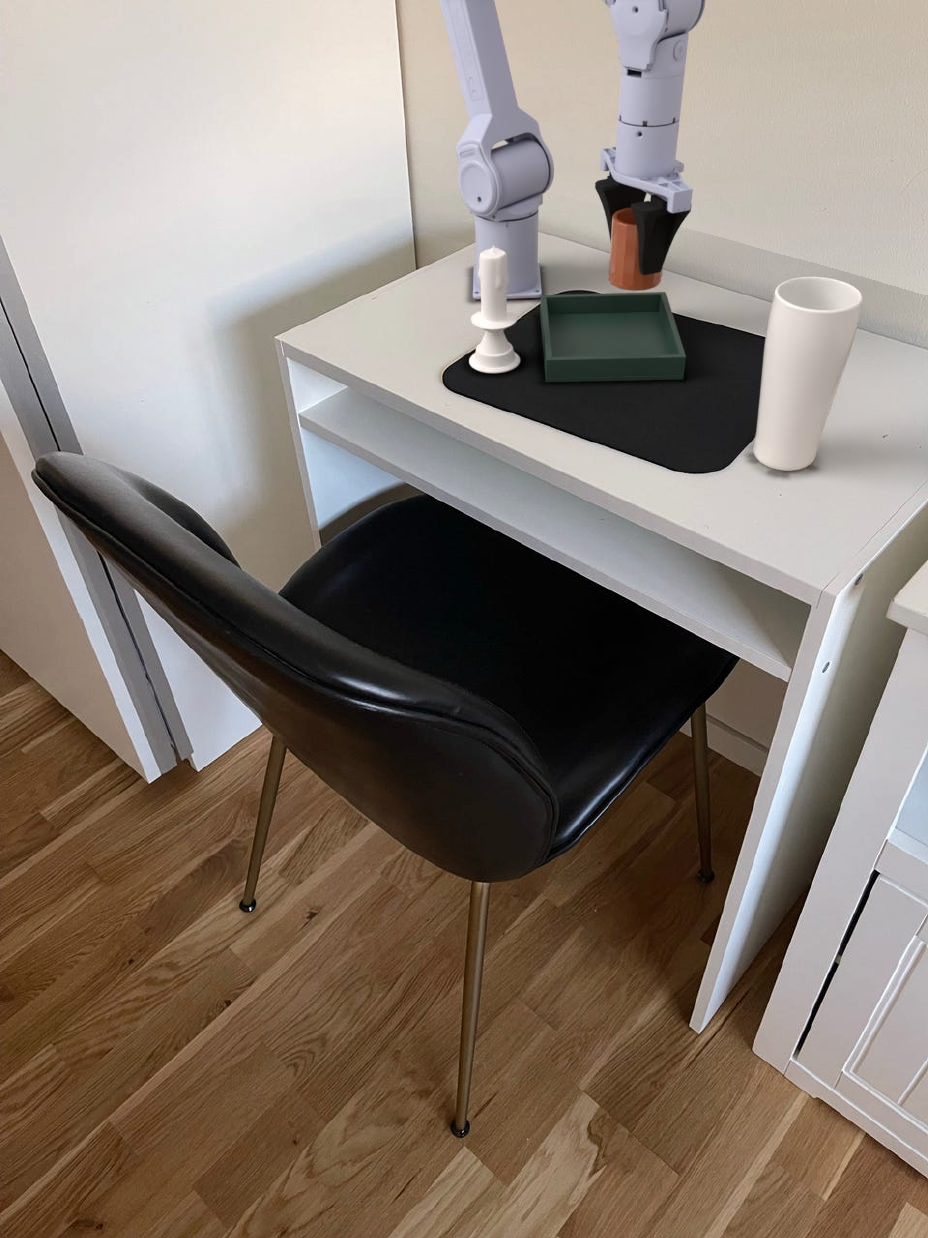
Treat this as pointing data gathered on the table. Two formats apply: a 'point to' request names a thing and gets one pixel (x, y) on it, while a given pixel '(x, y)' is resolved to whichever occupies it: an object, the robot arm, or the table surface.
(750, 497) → the table surface
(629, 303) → the tray
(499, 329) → the candle
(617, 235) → the cup
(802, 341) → the drinking glass
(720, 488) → the table surface
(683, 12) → the robot arm
